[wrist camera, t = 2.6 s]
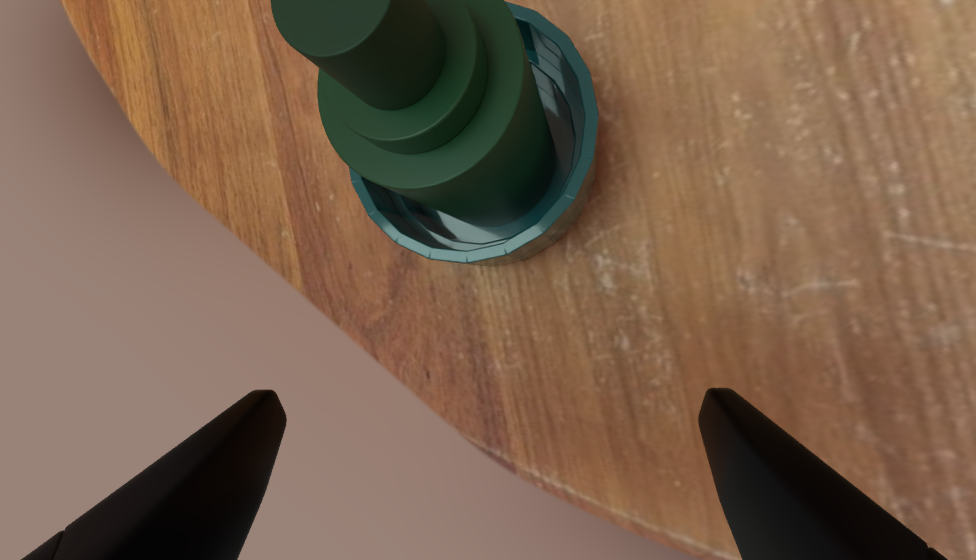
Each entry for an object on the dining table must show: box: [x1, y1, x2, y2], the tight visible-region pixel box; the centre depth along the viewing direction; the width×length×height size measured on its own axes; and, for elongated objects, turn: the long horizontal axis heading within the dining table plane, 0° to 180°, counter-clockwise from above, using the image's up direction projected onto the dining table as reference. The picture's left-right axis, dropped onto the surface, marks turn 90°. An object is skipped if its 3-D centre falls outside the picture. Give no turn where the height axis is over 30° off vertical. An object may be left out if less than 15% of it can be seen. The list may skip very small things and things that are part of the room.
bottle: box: [271, 0, 555, 227], centre depth 15 cm, size 6×6×13 cm
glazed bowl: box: [349, 1, 599, 267], centre depth 19 cm, size 10×10×5 cm
